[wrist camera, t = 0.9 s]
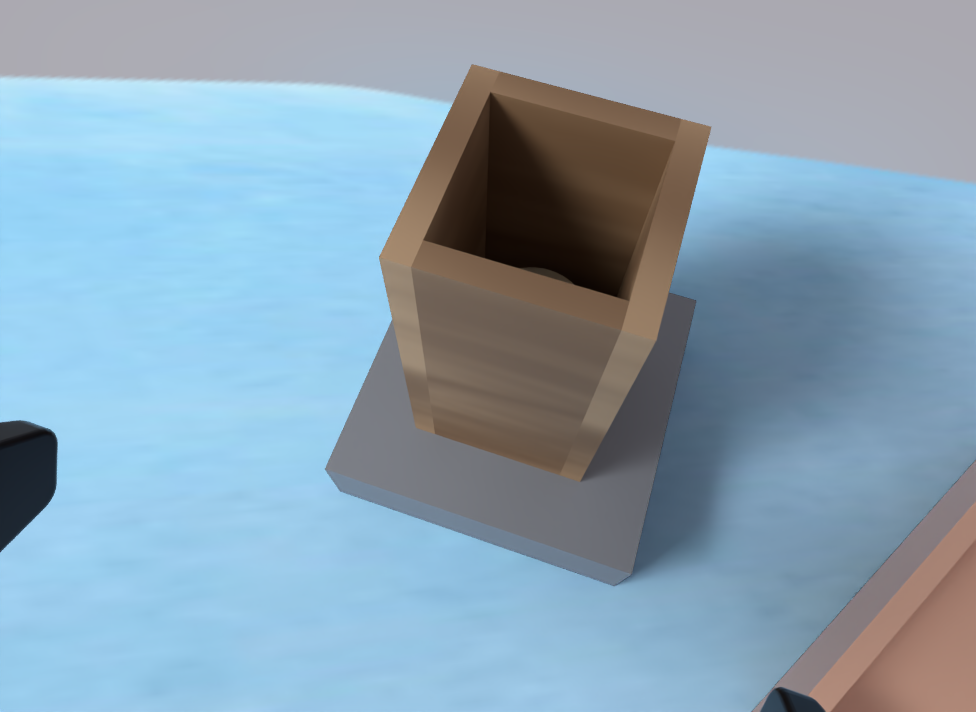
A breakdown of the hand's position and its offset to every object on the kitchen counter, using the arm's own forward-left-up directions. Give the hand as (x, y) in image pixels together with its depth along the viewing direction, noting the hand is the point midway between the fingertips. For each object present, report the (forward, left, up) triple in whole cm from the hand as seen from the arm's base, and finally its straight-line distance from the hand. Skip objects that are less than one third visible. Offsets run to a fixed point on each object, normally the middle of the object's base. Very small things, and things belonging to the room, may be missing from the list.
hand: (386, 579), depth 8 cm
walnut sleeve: (+5, -5, -11) cm, 13 cm away
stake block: (+5, -5, -13) cm, 15 cm away
